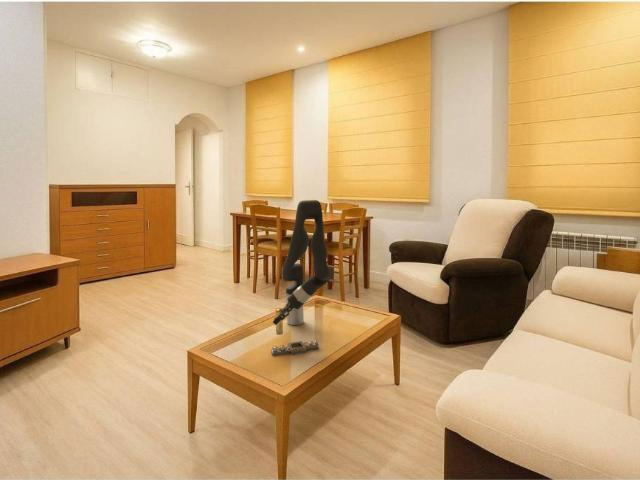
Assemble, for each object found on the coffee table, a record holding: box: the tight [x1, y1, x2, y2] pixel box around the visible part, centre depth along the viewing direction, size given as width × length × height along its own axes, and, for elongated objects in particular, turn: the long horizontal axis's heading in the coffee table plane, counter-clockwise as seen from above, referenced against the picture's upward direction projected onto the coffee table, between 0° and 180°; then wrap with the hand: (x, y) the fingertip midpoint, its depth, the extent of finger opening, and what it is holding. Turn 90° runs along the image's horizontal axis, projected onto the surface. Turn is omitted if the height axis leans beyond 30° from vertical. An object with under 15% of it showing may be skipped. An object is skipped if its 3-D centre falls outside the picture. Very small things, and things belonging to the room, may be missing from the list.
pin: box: [274, 307, 284, 336], centre depth 183 cm, size 3×3×12 cm
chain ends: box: [270, 340, 320, 357], centre depth 177 cm, size 8×22×3 cm, turn 107°
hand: (274, 321), depth 183 cm, fingers closed on pin, 3 cm apart
